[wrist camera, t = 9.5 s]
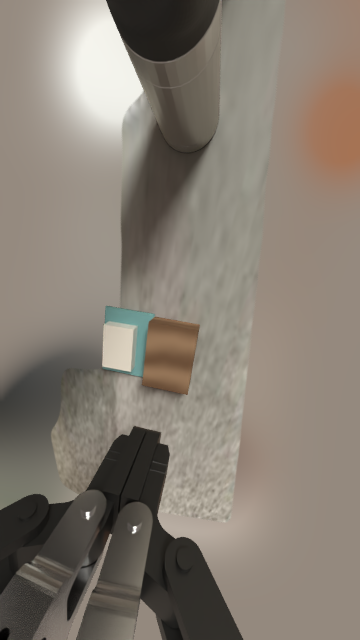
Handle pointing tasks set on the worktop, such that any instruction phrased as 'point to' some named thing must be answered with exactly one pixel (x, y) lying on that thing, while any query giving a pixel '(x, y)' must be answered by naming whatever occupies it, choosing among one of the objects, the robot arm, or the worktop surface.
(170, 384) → the board
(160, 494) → the robot arm
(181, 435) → the worktop surface
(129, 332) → the tile
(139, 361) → the mat
